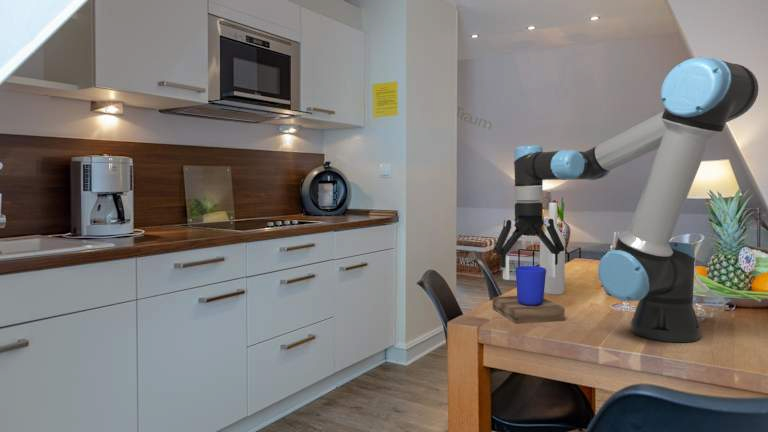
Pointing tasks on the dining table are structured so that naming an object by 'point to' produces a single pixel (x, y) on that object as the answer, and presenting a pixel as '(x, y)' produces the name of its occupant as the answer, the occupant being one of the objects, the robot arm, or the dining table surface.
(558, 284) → the bottle
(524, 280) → the mug
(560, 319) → the board
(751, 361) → the dining table surface
